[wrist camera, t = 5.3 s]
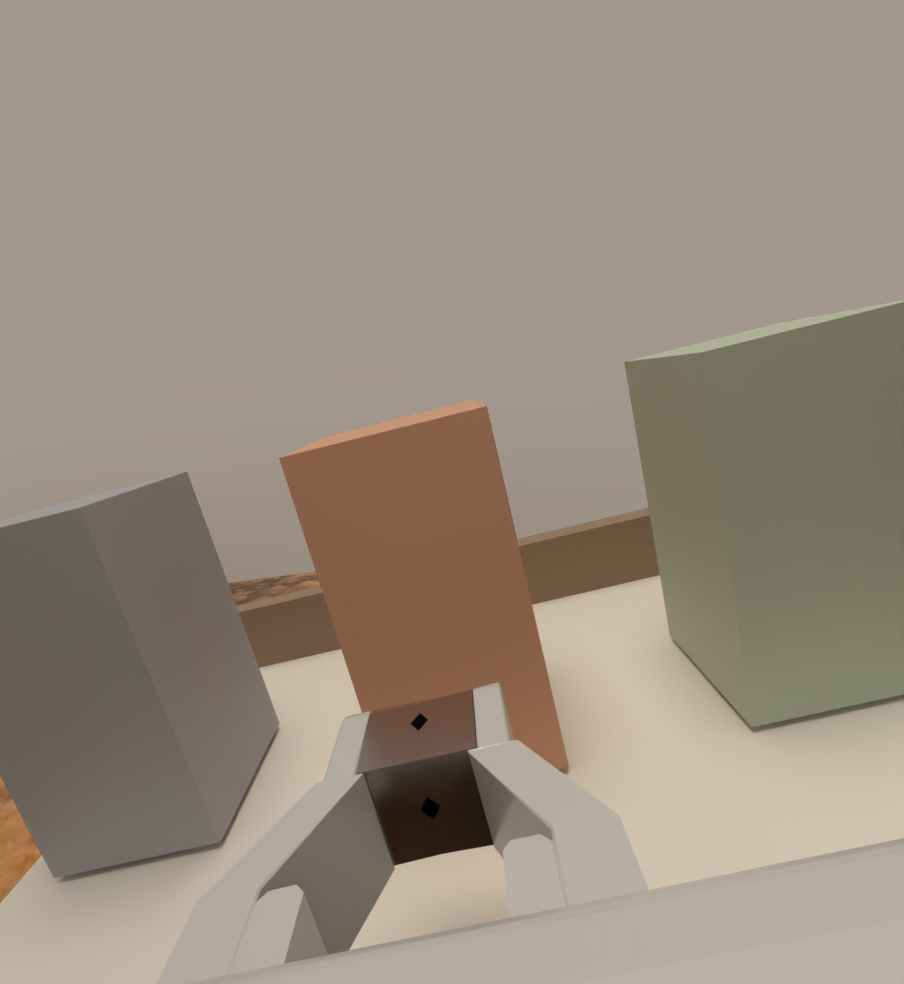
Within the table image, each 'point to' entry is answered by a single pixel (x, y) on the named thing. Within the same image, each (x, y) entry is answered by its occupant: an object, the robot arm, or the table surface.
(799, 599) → the sage green block
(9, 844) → the table surface
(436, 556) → the terracotta rectangular block
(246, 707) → the blue-grey block
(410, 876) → the cream board with rail
